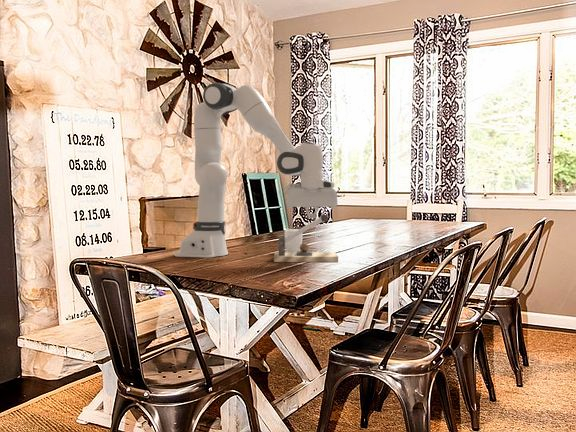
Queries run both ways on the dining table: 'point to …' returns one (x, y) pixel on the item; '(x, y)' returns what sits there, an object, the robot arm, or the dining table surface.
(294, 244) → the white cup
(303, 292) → the dining table surface
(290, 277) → the dining table surface
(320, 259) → the nutcracker base
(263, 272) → the dining table surface
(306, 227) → the lever
